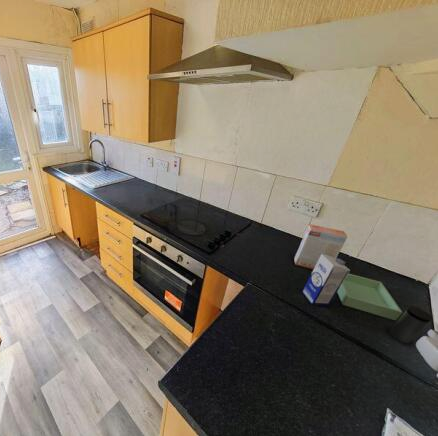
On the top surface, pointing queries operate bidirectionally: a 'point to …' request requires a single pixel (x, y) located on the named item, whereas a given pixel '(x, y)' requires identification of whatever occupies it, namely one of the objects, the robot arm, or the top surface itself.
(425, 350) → the robot arm
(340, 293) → the square green tray
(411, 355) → the top surface
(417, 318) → the food flask
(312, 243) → the cracker box
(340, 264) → the milk carton
